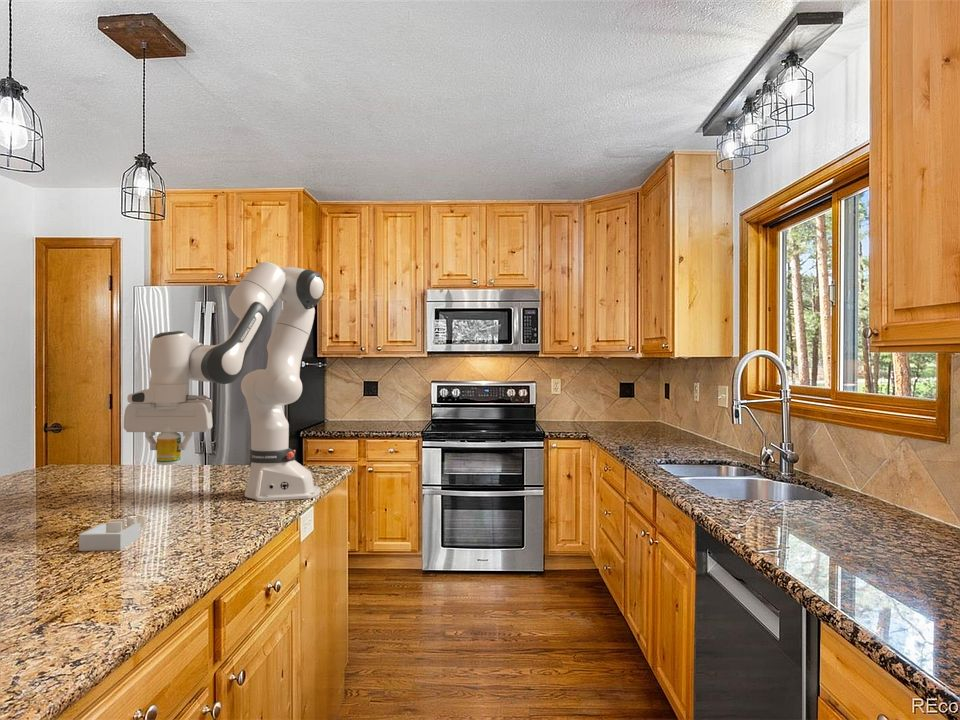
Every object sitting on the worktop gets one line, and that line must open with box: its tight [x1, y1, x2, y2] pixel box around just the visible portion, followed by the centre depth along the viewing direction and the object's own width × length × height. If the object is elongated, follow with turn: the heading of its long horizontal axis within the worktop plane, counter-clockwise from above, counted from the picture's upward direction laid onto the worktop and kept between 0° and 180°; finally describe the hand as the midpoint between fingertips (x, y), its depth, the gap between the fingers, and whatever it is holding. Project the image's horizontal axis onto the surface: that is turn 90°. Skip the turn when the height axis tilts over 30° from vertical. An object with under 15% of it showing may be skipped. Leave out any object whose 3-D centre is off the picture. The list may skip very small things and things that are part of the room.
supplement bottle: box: [156, 426, 182, 466], centre depth 141 cm, size 5×5×10 cm
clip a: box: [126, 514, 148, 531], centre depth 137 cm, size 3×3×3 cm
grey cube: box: [106, 518, 126, 533], centre depth 133 cm, size 3×3×3 cm
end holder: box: [78, 522, 141, 552], centre depth 126 cm, size 8×8×4 cm
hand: (168, 449), depth 141 cm, fingers closed on supplement bottle, 5 cm apart
